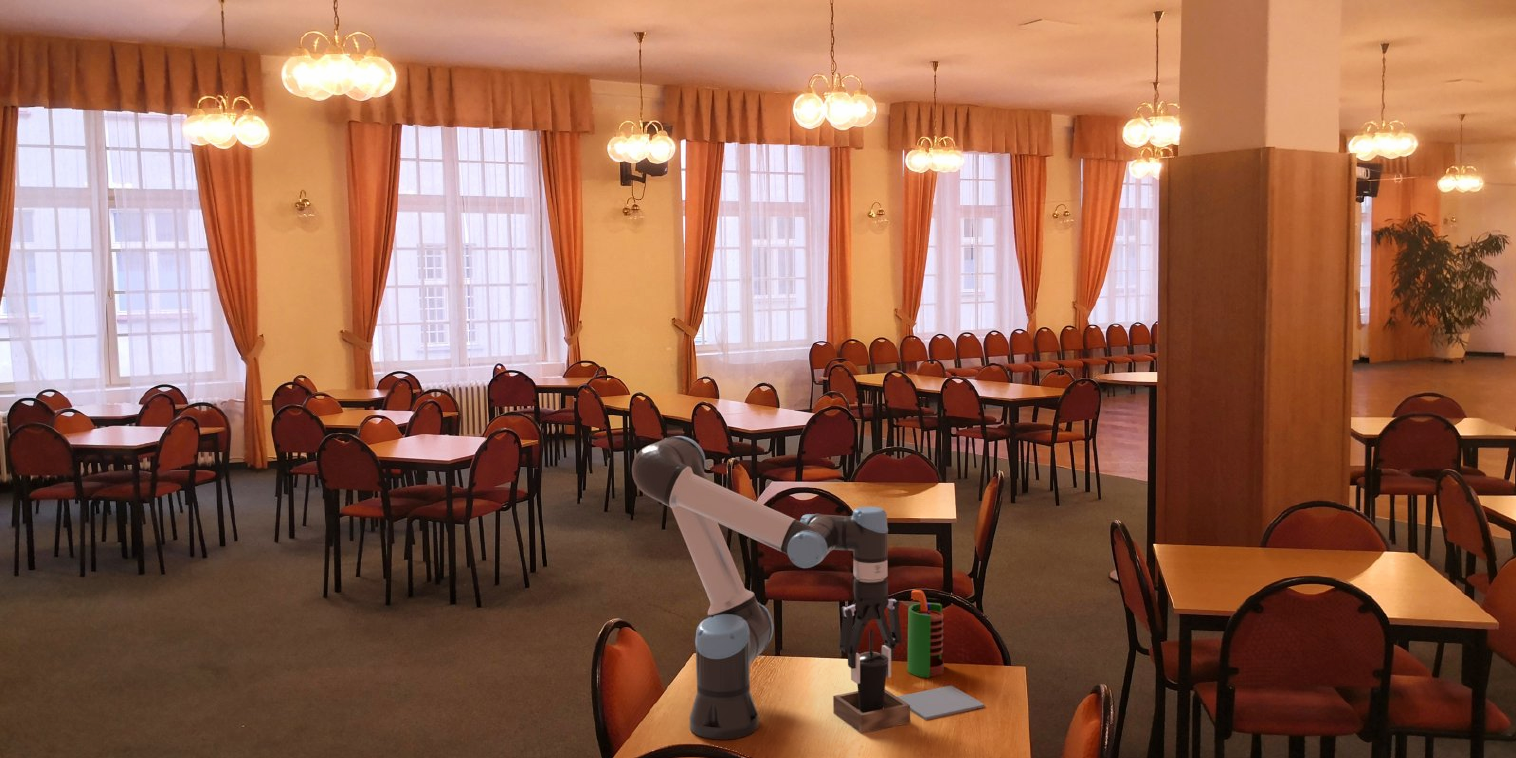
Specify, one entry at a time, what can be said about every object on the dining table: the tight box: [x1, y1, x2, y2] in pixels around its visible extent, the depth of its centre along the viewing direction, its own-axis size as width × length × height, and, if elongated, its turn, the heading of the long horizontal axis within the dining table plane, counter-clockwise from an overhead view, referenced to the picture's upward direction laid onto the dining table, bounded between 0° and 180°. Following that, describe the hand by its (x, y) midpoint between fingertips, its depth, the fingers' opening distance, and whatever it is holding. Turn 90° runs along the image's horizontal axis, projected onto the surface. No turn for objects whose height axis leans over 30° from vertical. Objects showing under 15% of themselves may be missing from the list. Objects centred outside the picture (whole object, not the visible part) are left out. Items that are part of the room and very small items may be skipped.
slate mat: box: [897, 685, 986, 721], centre depth 257 cm, size 16×13×1 cm
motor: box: [907, 589, 945, 679], centre depth 277 cm, size 10×9×20 cm
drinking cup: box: [856, 629, 888, 713], centre depth 248 cm, size 8×8×20 cm
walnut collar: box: [832, 689, 911, 734], centre depth 249 cm, size 12×12×4 cm
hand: (871, 678), depth 248 cm, fingers closed on drinking cup, 7 cm apart
